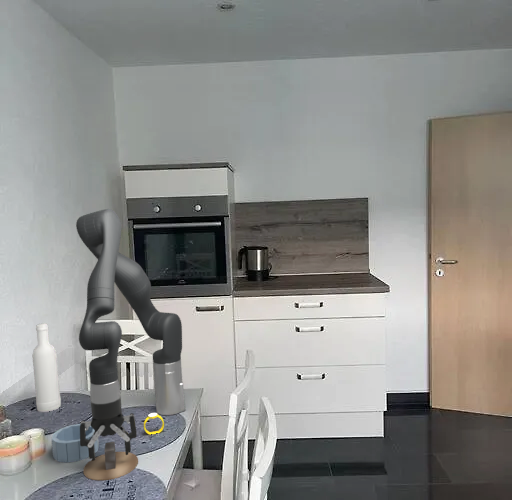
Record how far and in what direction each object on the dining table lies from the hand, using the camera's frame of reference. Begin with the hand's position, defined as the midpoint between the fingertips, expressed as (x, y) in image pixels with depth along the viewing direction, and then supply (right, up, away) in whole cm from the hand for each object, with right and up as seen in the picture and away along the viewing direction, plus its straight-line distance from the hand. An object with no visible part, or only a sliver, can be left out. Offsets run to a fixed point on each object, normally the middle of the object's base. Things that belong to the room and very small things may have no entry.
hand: (110, 456), depth 131 cm
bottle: (-34, -1, +43) cm, 55 cm away
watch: (+8, -1, +19) cm, 20 cm away
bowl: (-13, -3, +9) cm, 16 cm away
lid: (0, -3, 0) cm, 3 cm away
